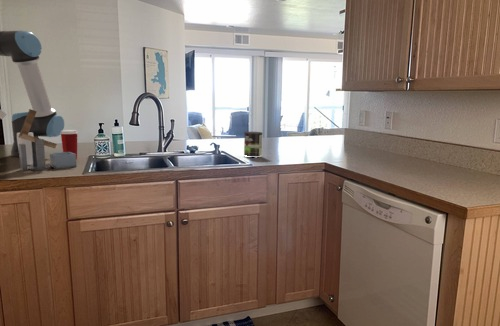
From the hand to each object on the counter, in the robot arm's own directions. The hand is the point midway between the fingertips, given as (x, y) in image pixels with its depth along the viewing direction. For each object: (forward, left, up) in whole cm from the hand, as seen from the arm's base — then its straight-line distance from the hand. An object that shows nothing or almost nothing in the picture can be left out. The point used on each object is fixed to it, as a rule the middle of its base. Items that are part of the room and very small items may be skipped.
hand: (3, 116), depth 155 cm
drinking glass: (-15, +10, -23) cm, 29 cm away
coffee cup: (-18, +31, -23) cm, 43 cm away
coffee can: (+30, +115, -23) cm, 121 cm away
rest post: (0, +6, -23) cm, 24 cm away
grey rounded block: (0, +22, -23) cm, 32 cm away
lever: (0, +12, -11) cm, 16 cm away
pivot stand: (0, +12, -23) cm, 26 cm away
